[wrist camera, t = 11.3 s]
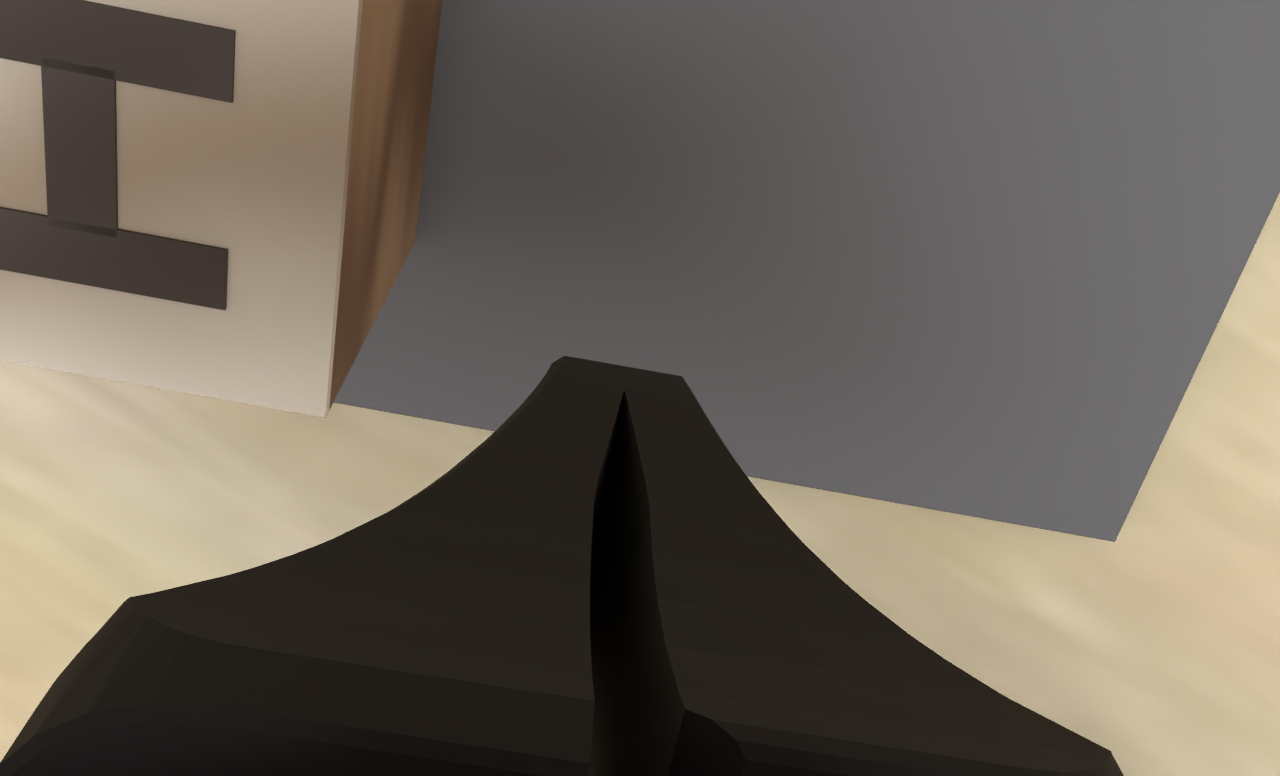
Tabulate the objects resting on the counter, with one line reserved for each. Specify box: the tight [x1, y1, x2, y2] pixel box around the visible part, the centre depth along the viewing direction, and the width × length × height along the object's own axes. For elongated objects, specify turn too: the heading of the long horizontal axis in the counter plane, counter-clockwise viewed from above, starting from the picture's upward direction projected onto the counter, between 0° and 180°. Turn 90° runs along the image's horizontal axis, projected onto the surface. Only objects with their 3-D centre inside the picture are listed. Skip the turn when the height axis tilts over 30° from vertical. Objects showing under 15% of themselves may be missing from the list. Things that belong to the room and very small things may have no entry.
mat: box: [334, 0, 1280, 542], centre depth 20 cm, size 13×23×1 cm, turn 79°
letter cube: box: [0, 0, 442, 418], centre depth 16 cm, size 6×6×6 cm
